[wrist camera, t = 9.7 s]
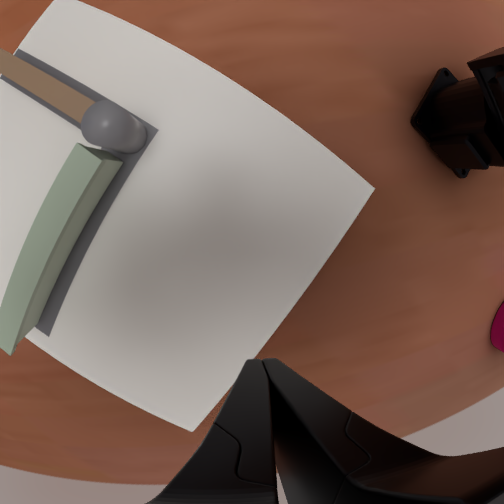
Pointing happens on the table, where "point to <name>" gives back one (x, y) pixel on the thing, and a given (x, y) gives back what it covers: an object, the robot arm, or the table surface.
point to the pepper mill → (498, 329)
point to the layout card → (163, 209)
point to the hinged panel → (53, 239)
